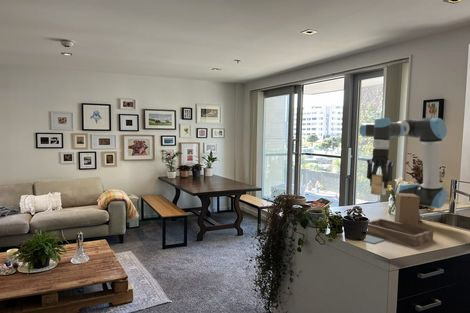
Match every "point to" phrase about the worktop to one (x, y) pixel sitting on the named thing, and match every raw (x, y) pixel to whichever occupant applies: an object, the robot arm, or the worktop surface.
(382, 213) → the worktop surface
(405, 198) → the wooden block
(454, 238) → the worktop surface
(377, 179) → the oak block
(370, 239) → the mat
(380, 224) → the brown wooden tray
